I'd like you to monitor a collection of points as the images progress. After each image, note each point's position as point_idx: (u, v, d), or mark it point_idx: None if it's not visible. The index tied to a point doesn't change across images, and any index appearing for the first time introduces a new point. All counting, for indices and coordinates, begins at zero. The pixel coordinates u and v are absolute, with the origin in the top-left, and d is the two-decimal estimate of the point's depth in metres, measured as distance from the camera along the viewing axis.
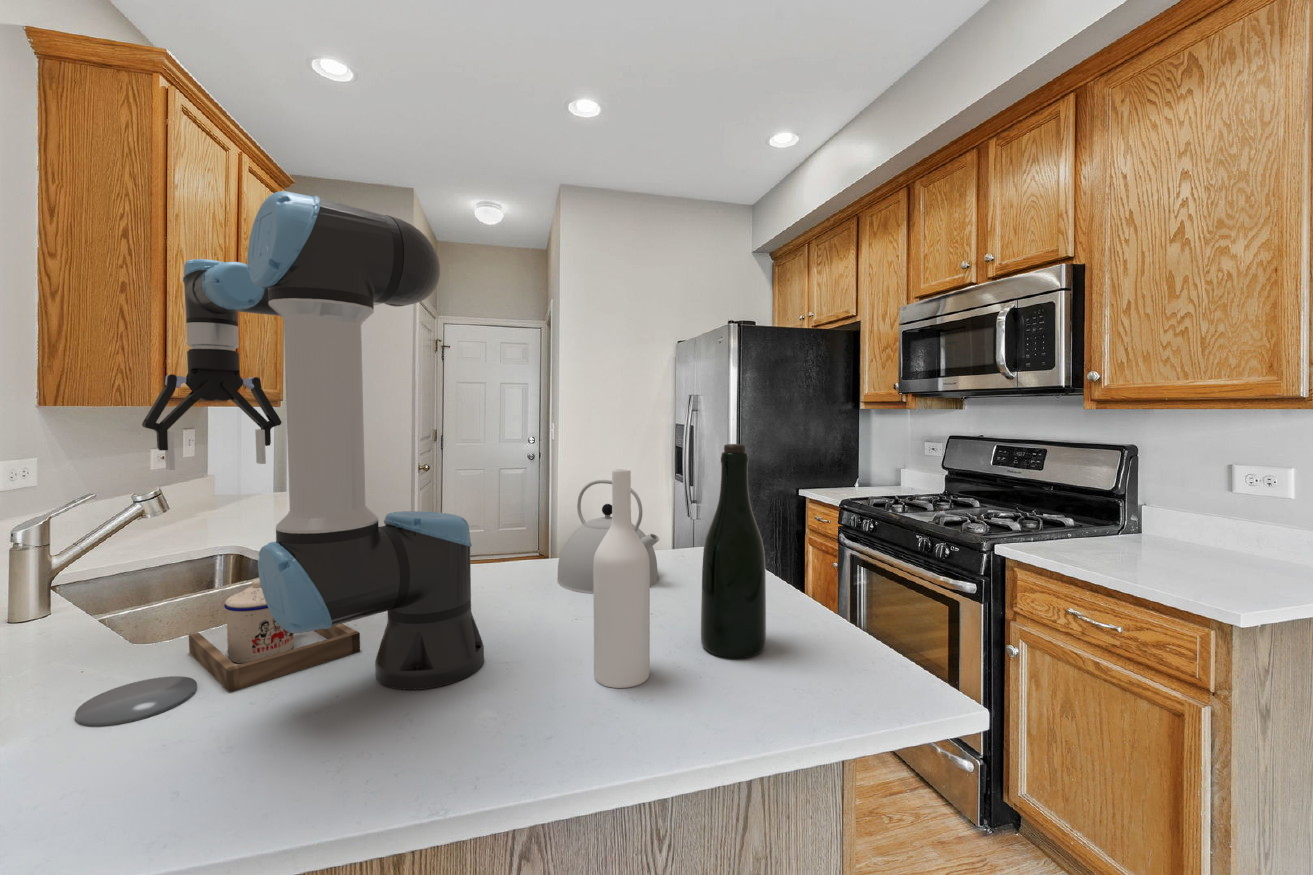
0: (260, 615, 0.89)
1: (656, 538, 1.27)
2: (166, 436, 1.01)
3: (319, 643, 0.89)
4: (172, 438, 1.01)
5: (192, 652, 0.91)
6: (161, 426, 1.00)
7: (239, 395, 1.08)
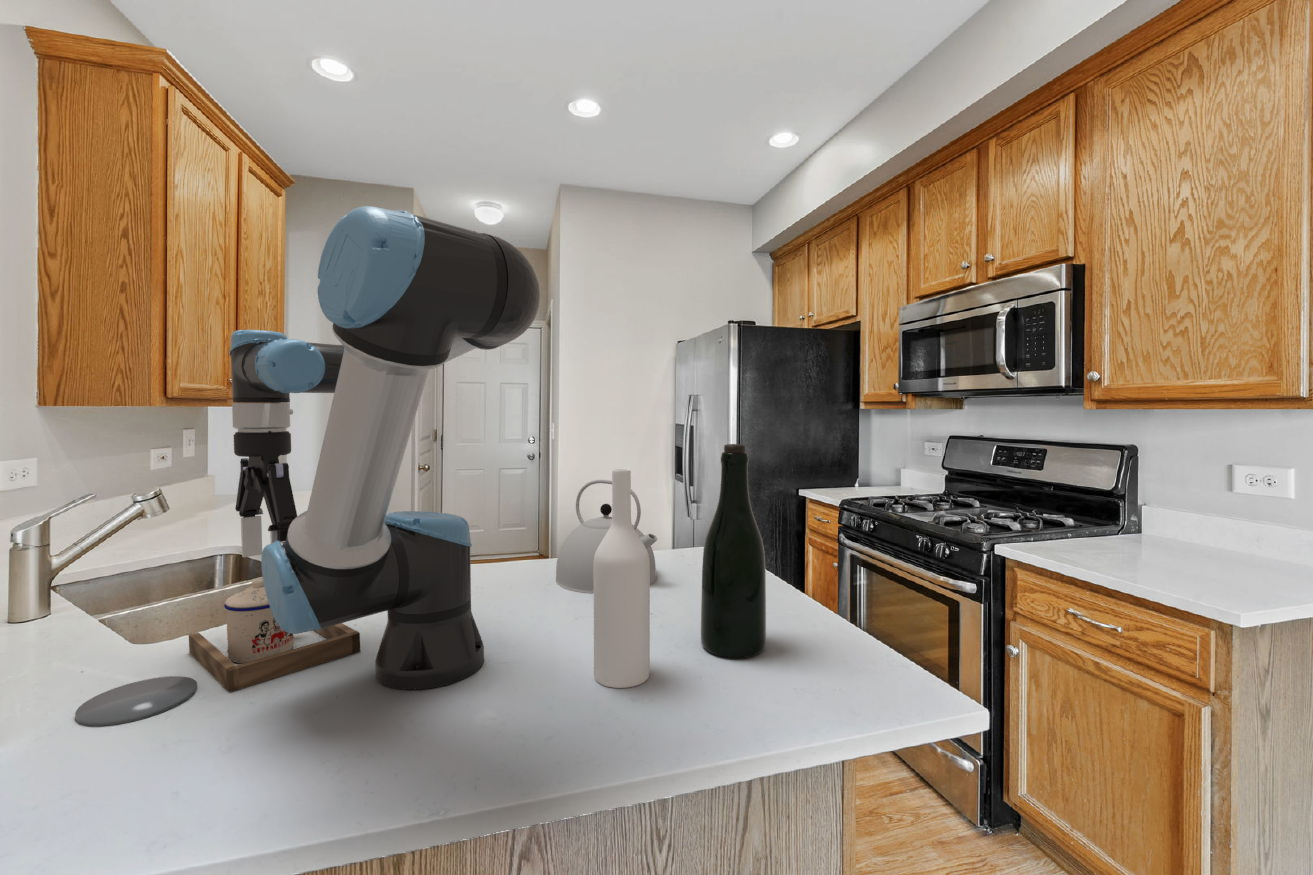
0: (260, 615, 0.89)
1: (654, 538, 1.27)
2: None
3: (319, 643, 0.89)
4: (242, 524, 0.97)
5: (192, 652, 0.91)
6: (239, 511, 0.97)
7: (259, 485, 0.90)
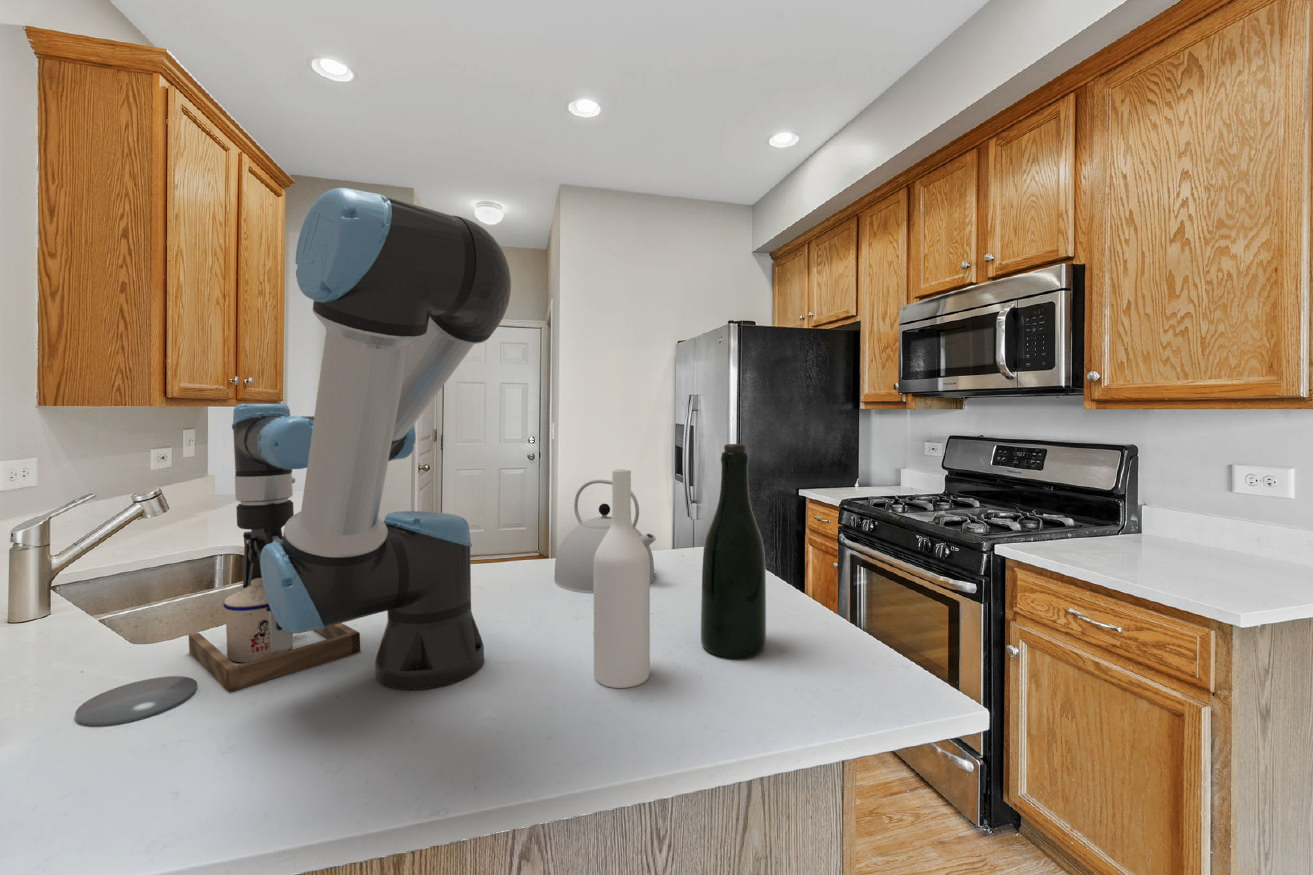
0: (259, 614, 0.89)
1: (653, 538, 1.27)
2: None
3: (319, 643, 0.89)
4: None
5: (192, 652, 0.91)
6: None
7: None
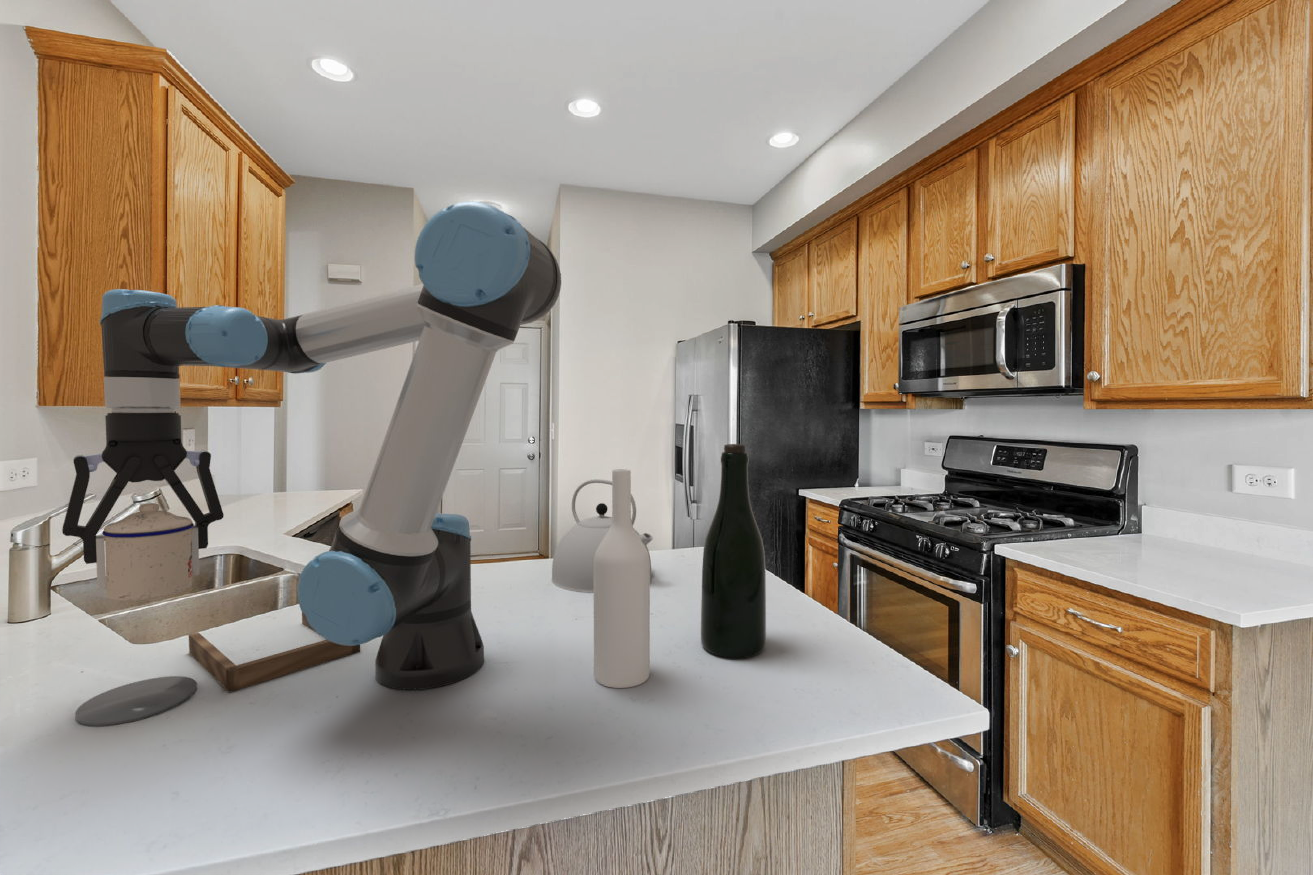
0: (189, 534, 0.79)
1: (650, 537, 1.27)
2: (94, 544, 0.74)
3: (319, 643, 0.89)
4: (102, 546, 0.74)
5: (192, 652, 0.91)
6: (86, 532, 0.73)
7: (174, 476, 0.79)
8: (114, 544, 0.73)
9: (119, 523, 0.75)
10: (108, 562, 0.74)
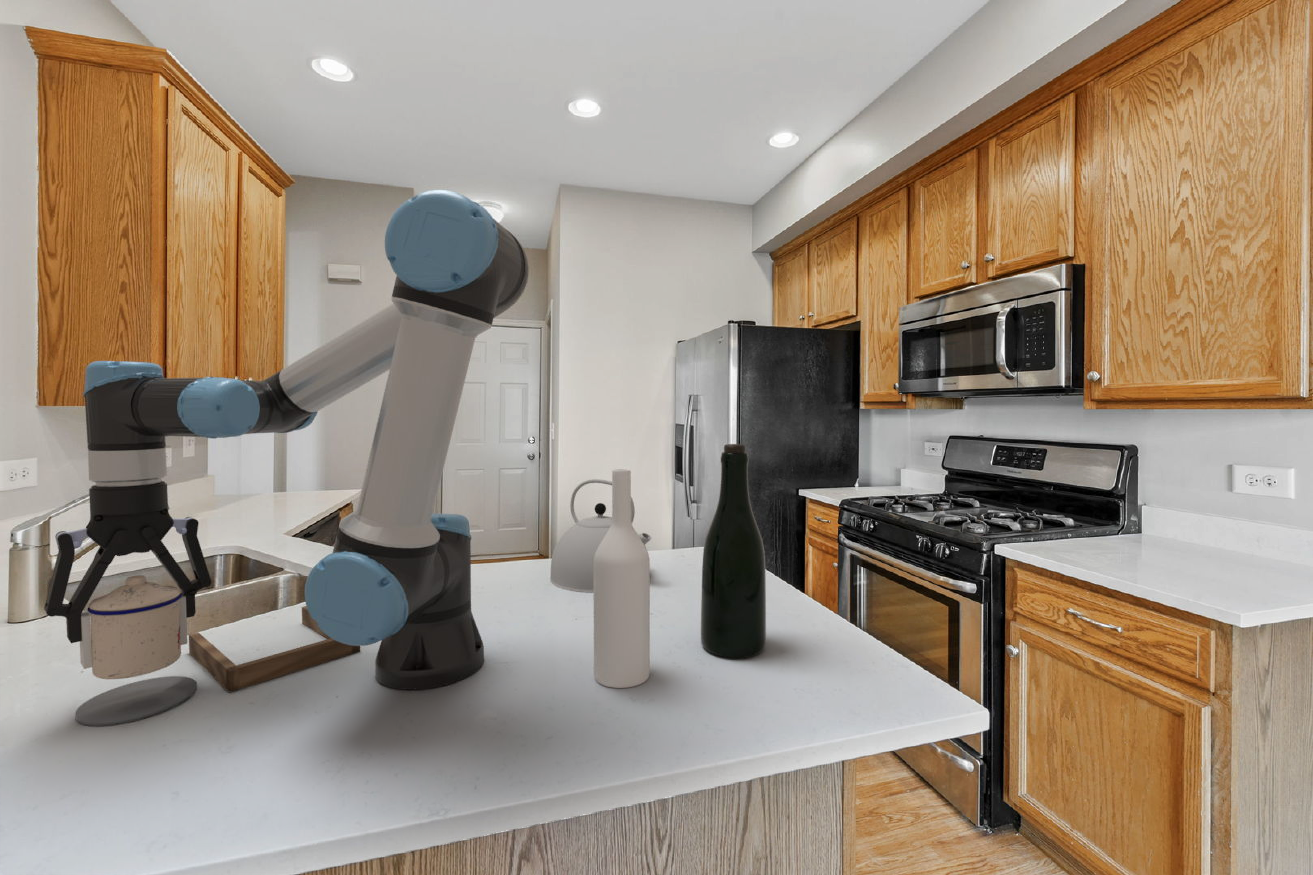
0: (178, 604, 0.78)
1: (648, 537, 1.28)
2: (79, 622, 0.72)
3: (319, 643, 0.89)
4: (88, 624, 0.72)
5: (192, 652, 0.91)
6: (71, 611, 0.71)
7: (162, 546, 0.77)
8: (102, 622, 0.72)
9: (106, 599, 0.73)
10: (95, 640, 0.72)
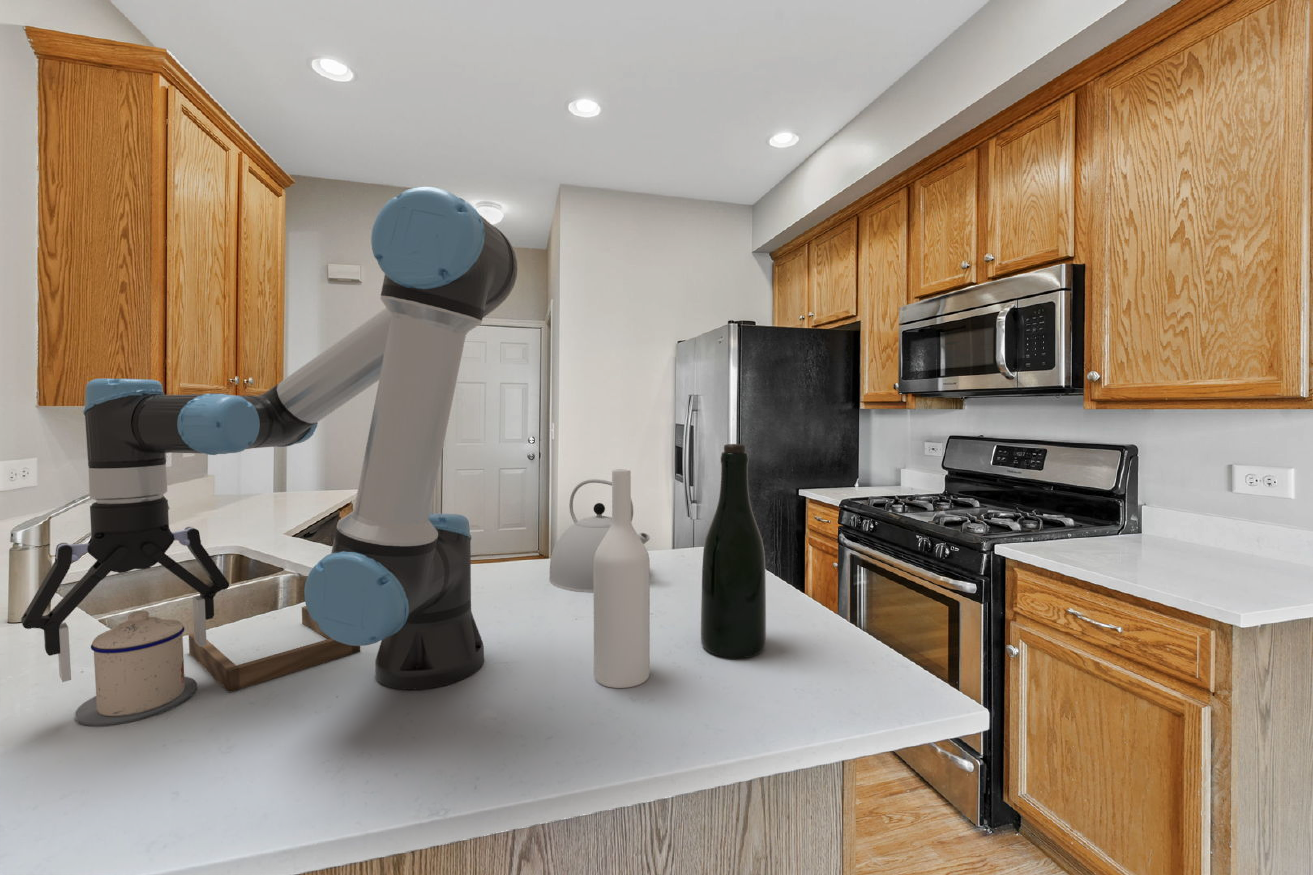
0: (181, 638, 0.78)
1: (647, 537, 1.28)
2: (57, 634, 0.71)
3: (319, 643, 0.89)
4: (66, 636, 0.71)
5: (192, 652, 0.91)
6: (49, 622, 0.70)
7: (167, 559, 0.78)
8: (106, 660, 0.72)
9: (109, 636, 0.73)
10: (99, 678, 0.72)
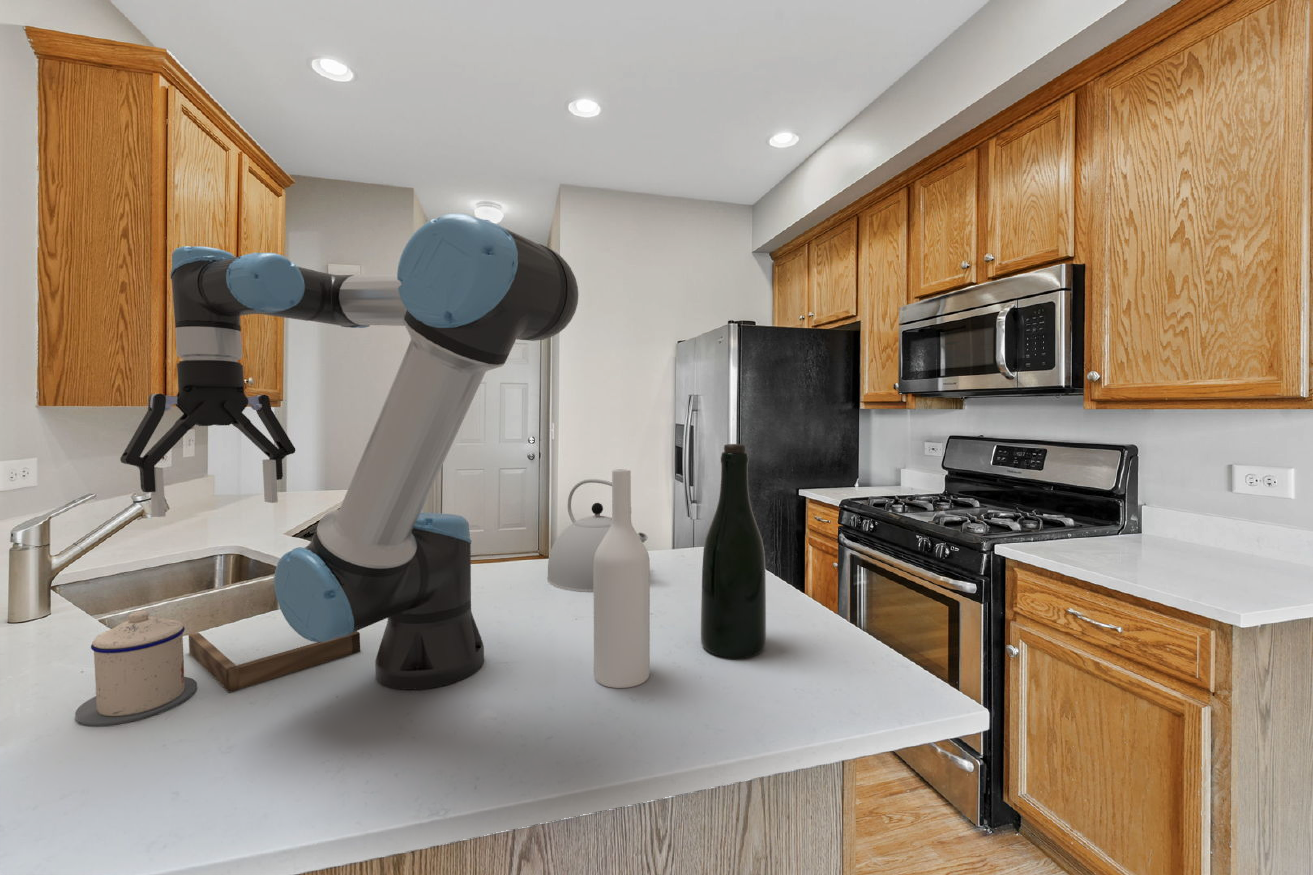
0: (181, 638, 0.78)
1: (645, 537, 1.28)
2: (153, 474, 0.78)
3: (319, 643, 0.89)
4: (161, 476, 0.78)
5: (192, 652, 0.91)
6: (147, 461, 0.77)
7: (244, 418, 0.86)
8: (106, 660, 0.72)
9: (109, 636, 0.73)
10: (99, 678, 0.72)
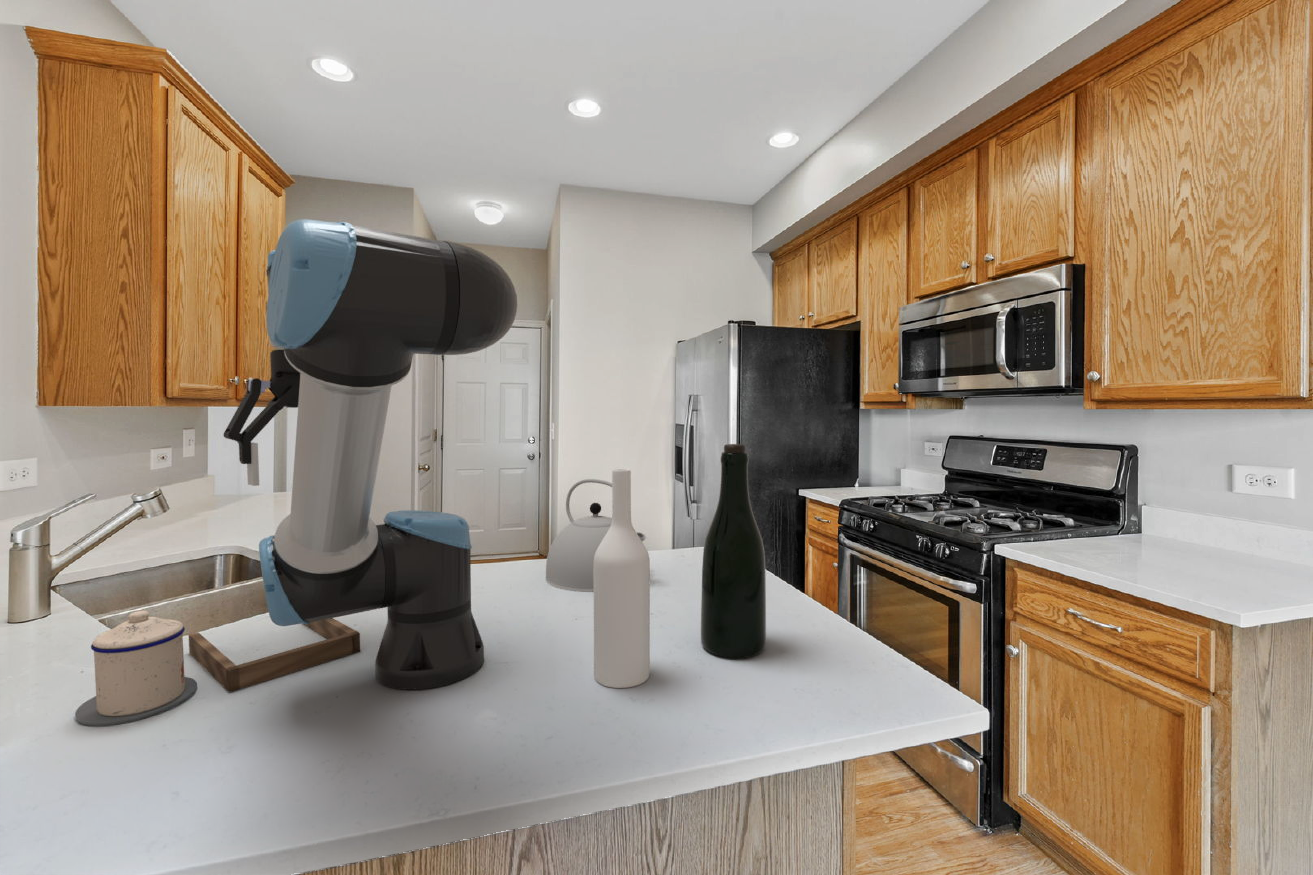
0: (181, 638, 0.78)
1: (643, 537, 1.28)
2: (250, 448, 0.90)
3: (319, 643, 0.89)
4: (256, 450, 0.90)
5: (192, 652, 0.91)
6: (245, 437, 0.89)
7: None
8: (106, 660, 0.72)
9: (109, 636, 0.73)
10: (99, 678, 0.72)
